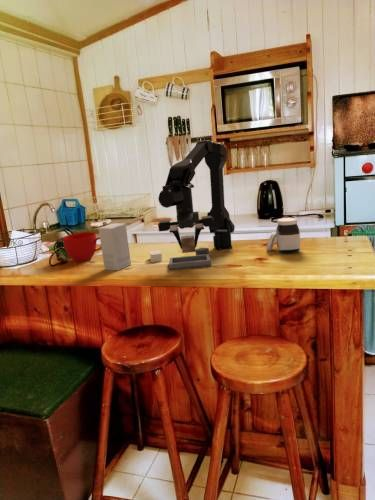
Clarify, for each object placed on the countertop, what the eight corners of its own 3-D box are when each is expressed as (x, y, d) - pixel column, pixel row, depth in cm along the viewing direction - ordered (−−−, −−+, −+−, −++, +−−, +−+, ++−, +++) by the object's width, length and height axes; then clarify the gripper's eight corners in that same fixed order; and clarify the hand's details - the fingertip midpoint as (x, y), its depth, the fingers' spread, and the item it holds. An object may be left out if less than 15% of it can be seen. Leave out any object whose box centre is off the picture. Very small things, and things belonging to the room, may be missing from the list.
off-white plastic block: (160, 257, 155) (159, 250, 154) (162, 261, 149) (161, 253, 148) (150, 259, 154) (149, 251, 154) (151, 262, 148) (150, 254, 148)
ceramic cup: (100, 263, 154) (96, 237, 152) (60, 264, 158) (56, 240, 156) (113, 254, 167) (109, 231, 164) (75, 256, 170) (72, 233, 168)
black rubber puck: (209, 255, 151) (208, 247, 150) (210, 258, 146) (209, 250, 146) (195, 256, 151) (195, 248, 150) (196, 259, 146) (195, 251, 145)
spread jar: (302, 253, 140) (301, 220, 137) (270, 256, 140) (268, 223, 137) (294, 246, 151) (293, 215, 149) (264, 248, 152) (262, 218, 149)
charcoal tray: (209, 259, 144) (208, 254, 144) (211, 266, 135) (210, 260, 135) (170, 263, 144) (169, 257, 144) (169, 270, 135) (169, 264, 135)
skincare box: (118, 263, 151) (113, 222, 147) (132, 264, 147) (127, 222, 144) (103, 270, 144) (97, 227, 140) (117, 271, 141) (111, 227, 137)
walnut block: (195, 248, 141) (193, 234, 140) (195, 251, 137) (194, 237, 135) (182, 250, 141) (180, 236, 140) (182, 253, 137) (180, 238, 135)
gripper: (155, 208, 127) (160, 256, 131) (213, 203, 127) (217, 250, 131) (156, 204, 138) (161, 248, 142) (210, 199, 138) (214, 243, 142)
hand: (188, 248), depth 139 cm, fingers closed on walnut block, 4 cm apart
